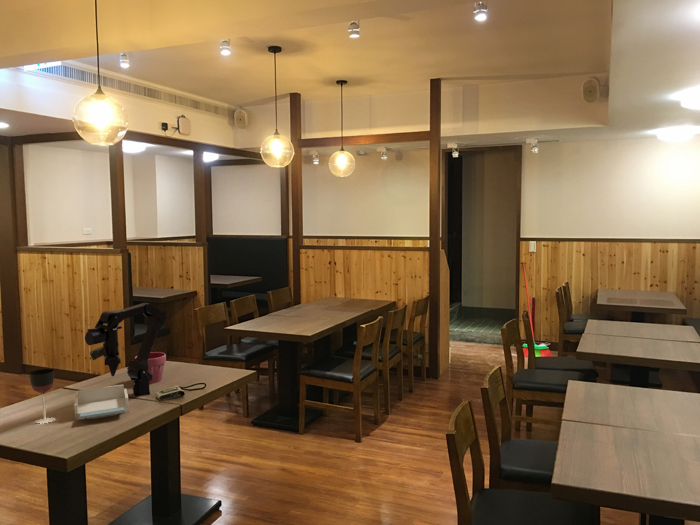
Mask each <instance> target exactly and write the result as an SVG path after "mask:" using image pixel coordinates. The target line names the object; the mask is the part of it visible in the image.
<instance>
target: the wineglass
mask: <svg viewBox="0 0 700 525" xmlns="http://www.w3.org/2000/svg"><path fill="white" fill-rule="evenodd" d="M28 375H29V382H30V385H31V389H32V390H33V391H34V392H36V393H40V394H41V397H42V398H41V400H42V410H43V411H42V413H43V419H42V418H39V419H40V420H39V419H37V420H38V421H37V420H36V421H37V423H40V424H39V425H45V424H44V423H47V424H49V423H48V422H51V423H53V422H55V421H56V418H55V417H51V418H49V417H46V400H45V393H47V392H48V391H50V390H51V389H52V388H53V385H54V381H55V380H54V379H55V370H54V369H52V368H42V369H36V370H33V371H30V372H28ZM53 420H54V421H53ZM52 421H53V422H52ZM42 423H43V424H42Z"/></svg>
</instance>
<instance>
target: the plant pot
mask: <svg viewBox="0 0 700 525" xmlns="http://www.w3.org/2000/svg"><path fill="white" fill-rule="evenodd" d="M136 358H137V355H136V356H135V357H134V360H135V359H136ZM166 362H167V355H166V353H165V352H161V351H155V352H154V351H151V352H150V355H149V358H148V372H149V373H150V374H151V375H152V376H153V377H152V380H151V381H149V384H154V383H155V384H156V383H159V382H161V381H162V379H163V373H164V368H165V363H166Z"/></svg>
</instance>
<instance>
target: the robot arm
mask: <svg viewBox="0 0 700 525" xmlns="http://www.w3.org/2000/svg"><path fill="white" fill-rule="evenodd" d="M141 314H143V316H145V317H146V318H147V319H146V326H147V329H146V331H145V334H144V336H143V339H142V342H141V344H140V347H139V350H138V353H137V355H136V356H137V358H136V359H135V358H134V359H133V360H132V359H130V360H129V364H128V366H127V368H126V372H127V374H128V377H129V378H130V380H131V381H133V383H132V394H133V395H134V396H135V397H141V396H148V395H151V390H150V383H149V381H151V380H152V377H153V376H152V375H151V374H150V373H149V372H148V358H149V355H150V352H152V349H153V346H154V343H155V341H156V338H157V336H158V332H159V330H160V329H162V328H163V327H164V325H165V323H166V322H167V319H168V315H167V313H166V312H165V311H163V310H161V309H159V308H157V307H155V306H154V305H152V304H150V303H147V302H141V303H140V304H136V305H132V306H129V307H126V308H123V309H120V310H119V309H118V310H105V311H102V312H101V314H100V315H99V316H100V317H99V319H98V320H97V322H96V324H95V326H94V327H93V328H87V332H86V333H85V335H84V341H85V343H86V345H88V346H92V345H97V344H102V346H100V347H97V348H95V349H93V350H91V351H89V355H90V358H91V359H92V361H95V360H97V359H99V358H101V357H103V359H104V360H103V361H104V366H108V368H109V372H110V375H111V377H115V375H116V372H117V370H118V367H119V365H120V364H121V363H122V361H121V357H120V350H119V348H120V347H119V331H118V330H122V329H123V327H122V326H121V325H120V324H121V323H122V322H123V321H124V320H126V319H129V318H133V317H136V316H138V315H139V316H140V315H141Z"/></svg>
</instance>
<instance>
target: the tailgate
mask: <svg viewBox="0 0 700 525" xmlns="http://www.w3.org/2000/svg"><path fill="white" fill-rule="evenodd" d="M124 412H125V410H124V407H119V408H113V409H106V410H99V411H93V412H86V413H81V414H80V419H79V420H85V419H84V418H86V419H88V420H91V419H99V418H104V417H105V418H106V417H112V416H117V413H118V414H123V413H124ZM125 413H126V412H125Z"/></svg>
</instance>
